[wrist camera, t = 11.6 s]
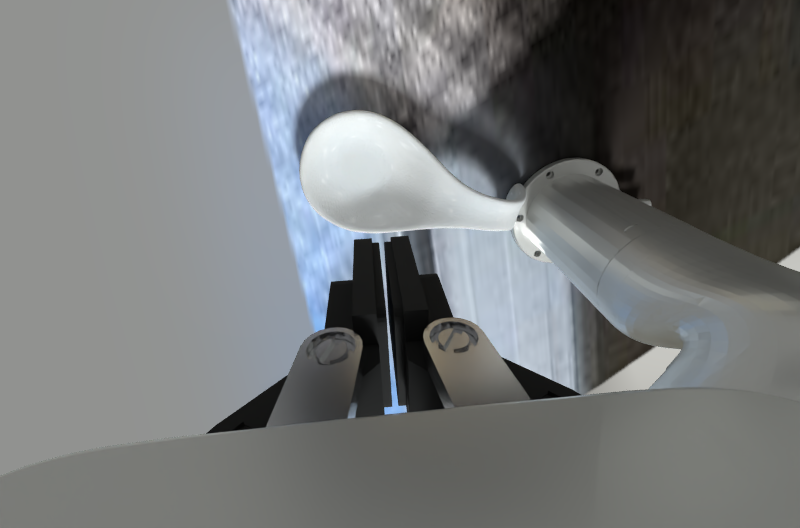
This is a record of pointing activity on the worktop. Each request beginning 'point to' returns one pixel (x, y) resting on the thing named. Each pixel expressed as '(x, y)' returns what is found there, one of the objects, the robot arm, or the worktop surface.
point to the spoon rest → (391, 181)
